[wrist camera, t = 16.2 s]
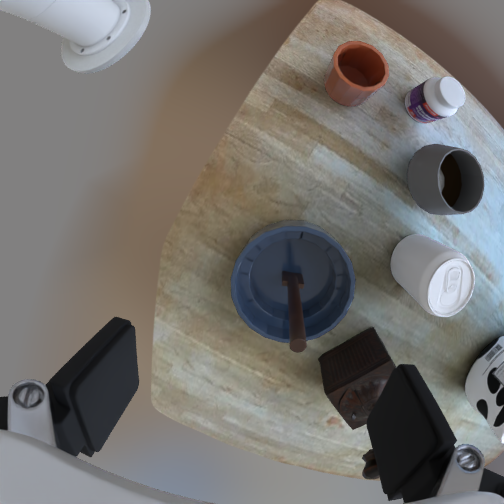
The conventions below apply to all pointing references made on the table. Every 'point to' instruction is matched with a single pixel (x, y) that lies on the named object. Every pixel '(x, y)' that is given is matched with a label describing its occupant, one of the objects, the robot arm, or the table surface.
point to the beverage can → (433, 274)
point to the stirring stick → (295, 310)
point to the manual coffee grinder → (357, 382)
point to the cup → (445, 180)
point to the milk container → (488, 386)
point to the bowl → (297, 261)
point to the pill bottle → (434, 99)
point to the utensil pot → (355, 73)
